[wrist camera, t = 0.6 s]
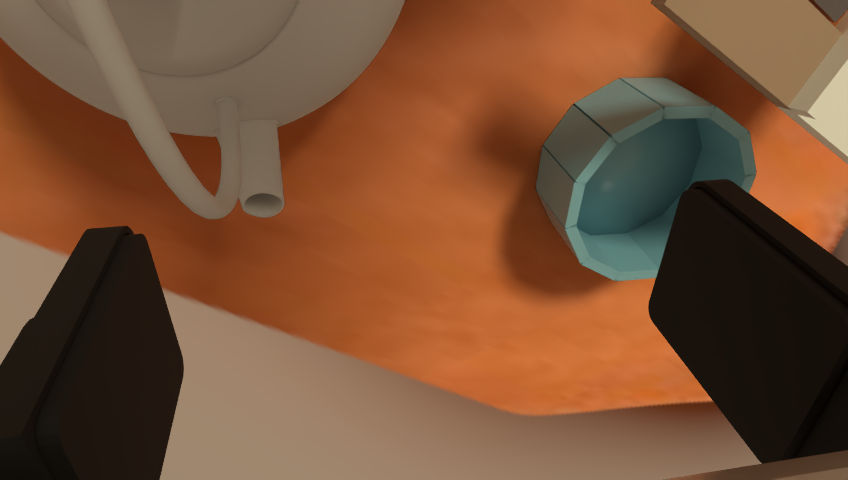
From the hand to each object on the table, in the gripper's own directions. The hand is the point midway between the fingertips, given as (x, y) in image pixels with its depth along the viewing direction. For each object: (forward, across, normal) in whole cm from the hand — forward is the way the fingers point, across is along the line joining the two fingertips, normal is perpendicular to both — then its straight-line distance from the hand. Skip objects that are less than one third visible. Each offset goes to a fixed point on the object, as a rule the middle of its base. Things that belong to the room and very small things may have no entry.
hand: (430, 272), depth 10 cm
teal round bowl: (+29, -21, +13) cm, 38 cm away
